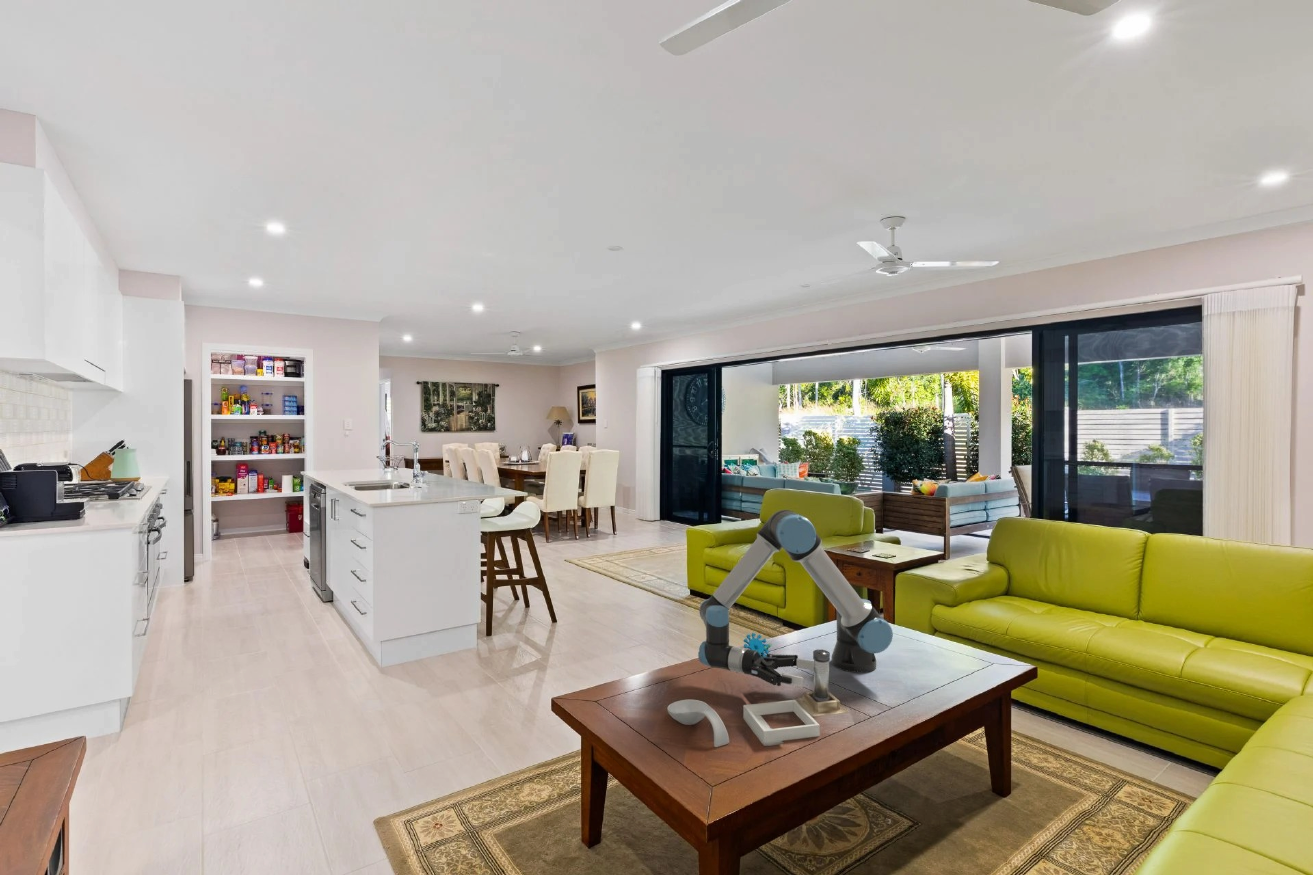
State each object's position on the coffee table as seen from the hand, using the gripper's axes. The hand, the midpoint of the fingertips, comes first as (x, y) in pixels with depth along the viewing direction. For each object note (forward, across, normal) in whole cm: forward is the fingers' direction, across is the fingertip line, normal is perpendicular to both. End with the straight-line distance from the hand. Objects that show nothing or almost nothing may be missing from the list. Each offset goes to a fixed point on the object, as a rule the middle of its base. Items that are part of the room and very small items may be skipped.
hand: (810, 674), depth 194 cm
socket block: (+3, 0, -10) cm, 10 cm away
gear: (-30, -31, -10) cm, 44 cm away
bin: (-3, +18, -10) cm, 21 cm away
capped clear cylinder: (+3, 0, -9) cm, 9 cm away
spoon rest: (-23, +28, -10) cm, 38 cm away
